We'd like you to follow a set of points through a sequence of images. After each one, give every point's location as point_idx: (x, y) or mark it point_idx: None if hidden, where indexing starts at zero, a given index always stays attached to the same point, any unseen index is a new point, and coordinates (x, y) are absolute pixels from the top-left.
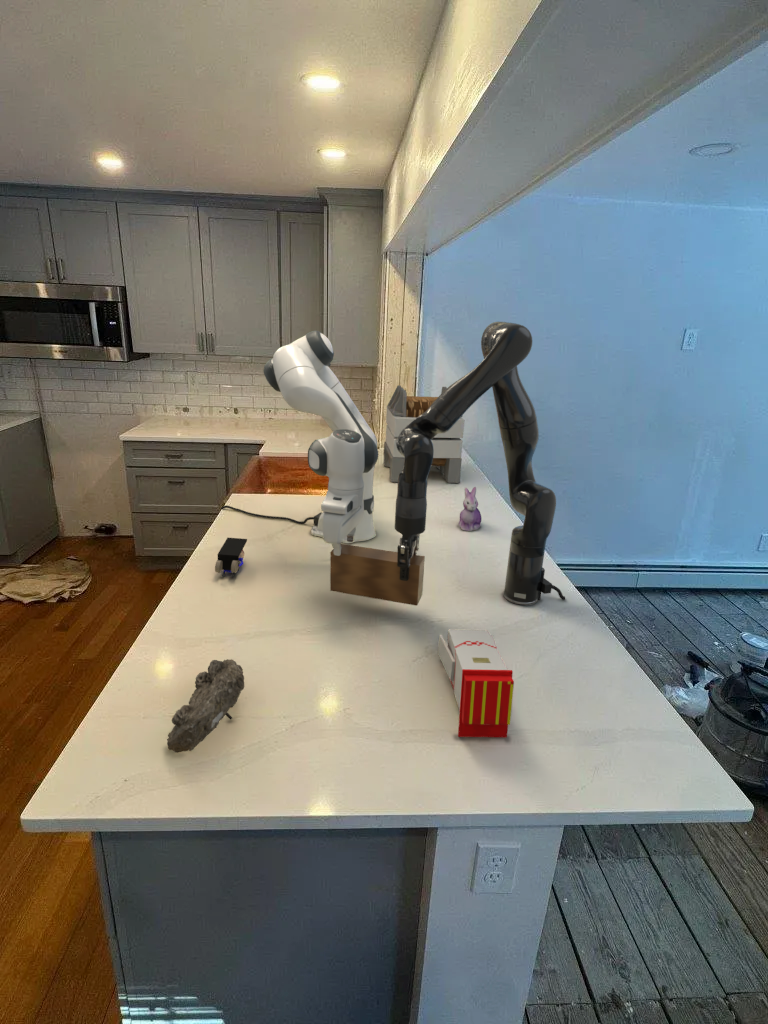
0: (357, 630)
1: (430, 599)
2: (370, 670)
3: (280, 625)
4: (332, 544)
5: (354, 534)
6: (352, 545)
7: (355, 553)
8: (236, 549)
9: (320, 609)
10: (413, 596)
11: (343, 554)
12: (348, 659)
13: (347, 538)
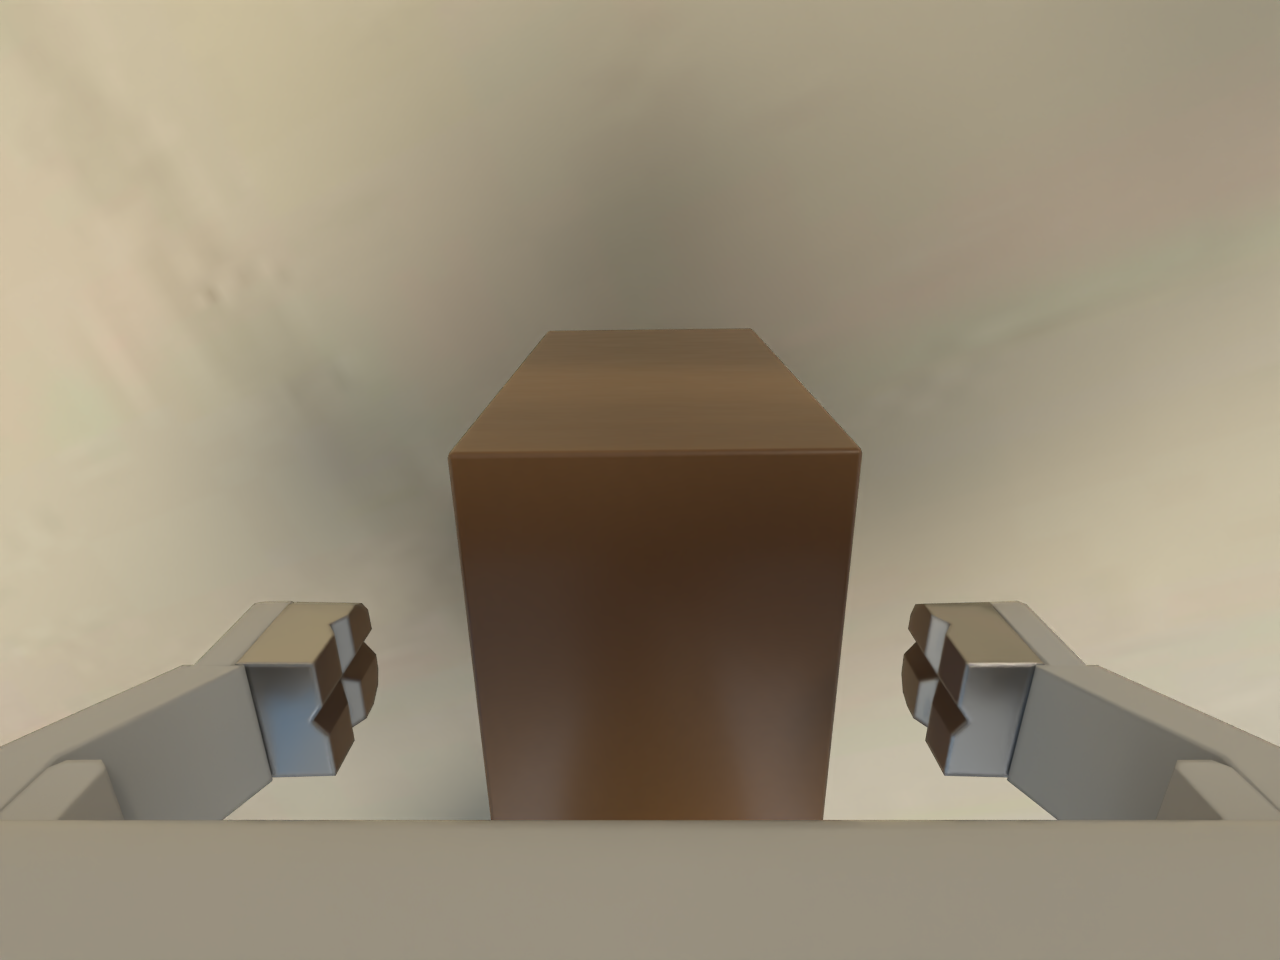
0: (380, 566)
1: (874, 815)
2: None
3: (157, 47)
4: (25, 751)
5: (1019, 785)
6: (830, 679)
7: (559, 792)
8: None
9: (511, 251)
10: None
11: (475, 654)
12: (100, 609)
13: (940, 632)
